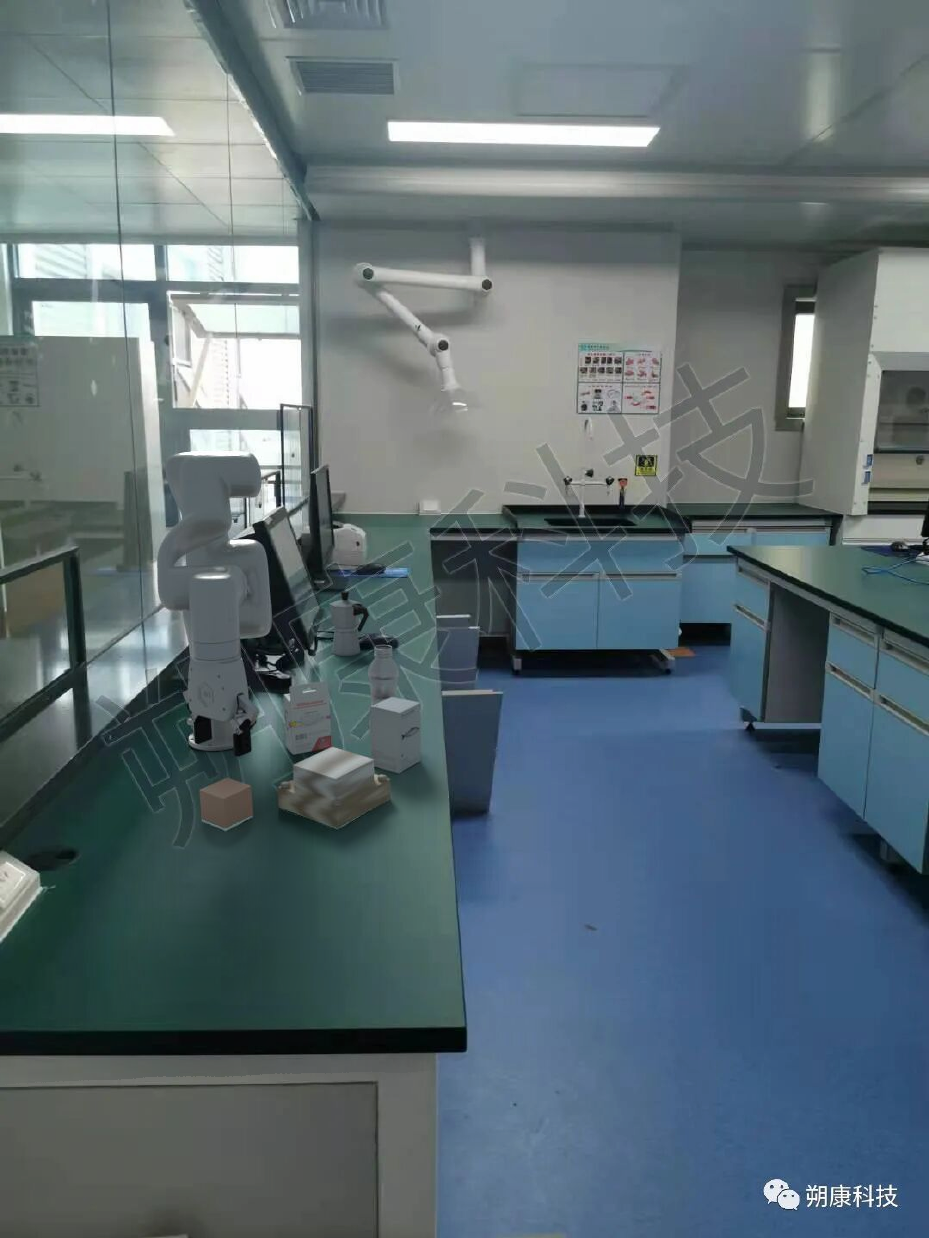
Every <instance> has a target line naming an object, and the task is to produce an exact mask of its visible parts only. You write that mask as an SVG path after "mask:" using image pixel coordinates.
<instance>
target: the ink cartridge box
mask: <svg viewBox="0 0 929 1238" xmlns="http://www.w3.org/2000/svg"><path fill="white" fill-rule="evenodd" d="M309 688H310V689H312V690H307V689H309ZM288 690H289V693H284V694H283V712H284V729H285V730H284V731H285V747H286V749H287V750H288V751H289V752H290V754H291V755H293V756H294V755H299V754H305V753H309V752H315V751H320V750H322V751H323V750H326V749H328V748H331V747H333V746H332V727H331V726H332V725H331V720H332V719H331V700H330V699H331V698H330V695H329V684H328V681H327V680H325V681H324V680H323V681H318V682H316V681H315V682H309V683H302V684H294V685H291V686H289V688H288ZM305 690H306V691H305Z"/></svg>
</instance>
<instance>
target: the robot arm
mask: <svg viewBox="0 0 929 1238" xmlns="http://www.w3.org/2000/svg"><path fill="white" fill-rule="evenodd" d="M165 475H166V480H167V481H166V482H167V483H168V487H169V489H170V491H171V495H172V496H173V500H174V501H175V503H176V506H177V507H178V509H179V512H180V514H181V518H182V519H180V520H179V521H178V522H177V524H175V525H174V526H173V527H172V528H171V529H170V530H169V531H168V532H167V534H166V535H165V537H164V539H163V540H162V542H161V543H160V546H159V548H158V551H157V556H156V559H157V560H156V568H157V569H156V570H157V571H156V573H157V577H156V579H157V593H158V598H159V601H160V603H161V605H162V606H163V607H164V608H165V609H167V610H169V611H172V612H182V620H183V625H184V629H185V633H186V639H187V644H188V648H189V667H188V677H187V678H188V680H187V688H188V689H186V690H184V691H183V692H182V694H183V697H184V700H185V703H186V708H187V710H188V712H189V714H190V717H189V718H187V720H186V723H187V725H189V726H192V729H193V732H192V733H190V735H189V736H188V744H189V746H190V747H191V748H193V749H196V750H199V751H200V750H201V751H205V752H219V751H225V750H226V751H227V750H232V749H233V755H234V757H237V758H240V757H242V756H244V755H247V754H249V753H251V751H252V734H251V731H252V730H253V729H254V727H255V726H256V724H257V721H258V717H259V715H260V709H259V707H257V706H256V705H255V704H254V703H253V702H252V701H251V700H250V699H249V690H248V689H249V687H248V682H247V675H246V670H245V666H244V665H245V663H244V661H243V658H242V651H241V640H242V639H252V638H261V637H265V636H267V635H268V634H269V633H270V632H271V629H272V622H273V616H272V615H273V614H272V603H271V601H272V600H271V591H270V589H271V588H270V575H269V565H268V562H269V561H268V557H267V553H266V549H265V547H264V545H263V544H262V543H260V542H259V541H258V540H255V539H230V537H229V531H230V529H231V528H232V524H233V520H232V517H233V516H232V509H231V499H249V498H250V499H254V498H256V497H258V496H259V494H260V491H261V490H262V484H263V483H262V482H263V481H262V480H263V478H262V471H261V466H260V462H259V460H258V459H257V457H256V456H255V454H253V453H251V452H249V451H187V452H180V453H179V452H178V453H175V454H173V455H171V456H169V457H168V458H167V460H166V463H165ZM184 556H185V557H186V559H185V561H186V565H178V566H175V565H176V563H177V562H178V561H179V560H180V559H181V558H182V557H184Z"/></svg>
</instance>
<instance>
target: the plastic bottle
mask: <svg viewBox="0 0 929 1238" xmlns="http://www.w3.org/2000/svg"><path fill="white" fill-rule="evenodd" d="M373 653H374V654H373V656H374V657H375V658H373V660H372V662H371V663H370V665H369V667H368V669H367V674H368V675H367V676H368V681H369V686H370V687H369V688H370V695H371V696H370V698H371V704H370V705H371V706H373V705H375V704H377V703H379V702H382V701H384V700H386V699H388V698H390V697H396V698H398V684H399V675H400V671H399V670H400V669H399V666H398V665H397V663H396V662H395V661H394V659H393V658H392V657H393V646H391V645H387V644H379V645H375V646H374V652H373ZM371 706H370V707H371ZM368 722H369V724H368V726H369V727H368V728H369V729H370V720H369V721H368Z"/></svg>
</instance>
